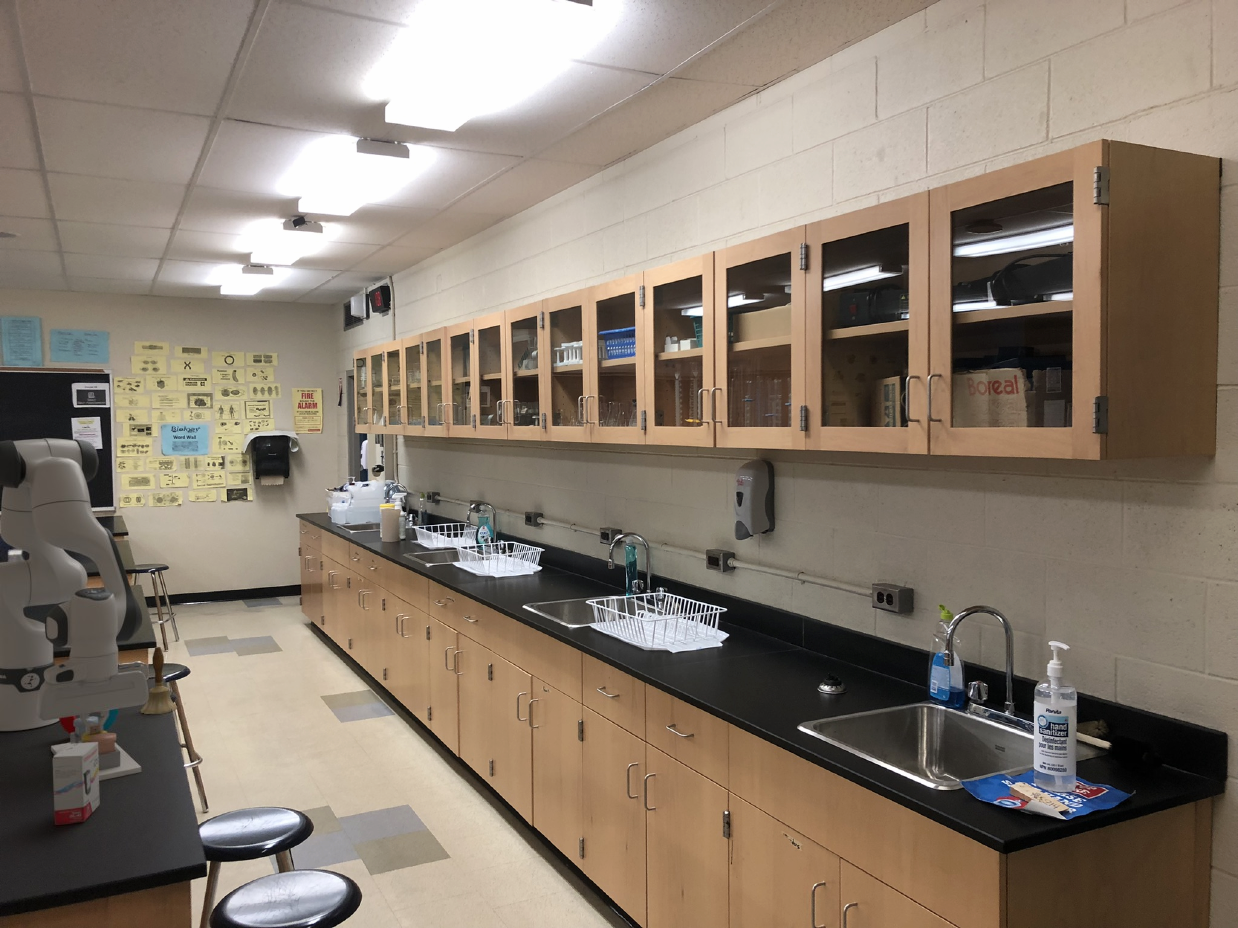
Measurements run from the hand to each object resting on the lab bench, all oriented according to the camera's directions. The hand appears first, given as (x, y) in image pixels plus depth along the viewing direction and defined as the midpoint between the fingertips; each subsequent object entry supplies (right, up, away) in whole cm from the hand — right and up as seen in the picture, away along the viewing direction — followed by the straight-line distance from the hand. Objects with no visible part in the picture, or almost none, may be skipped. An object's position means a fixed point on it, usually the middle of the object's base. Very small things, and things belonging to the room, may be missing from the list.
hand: (94, 732), depth 189 cm
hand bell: (-6, -6, +39) cm, 40 cm away
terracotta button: (+5, -3, -6) cm, 9 cm away
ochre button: (0, -5, 0) cm, 5 cm away
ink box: (+14, -6, -29) cm, 33 cm away
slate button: (-5, -3, +6) cm, 9 cm away
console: (0, -6, 0) cm, 6 cm away
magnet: (-11, -6, +17) cm, 21 cm away
